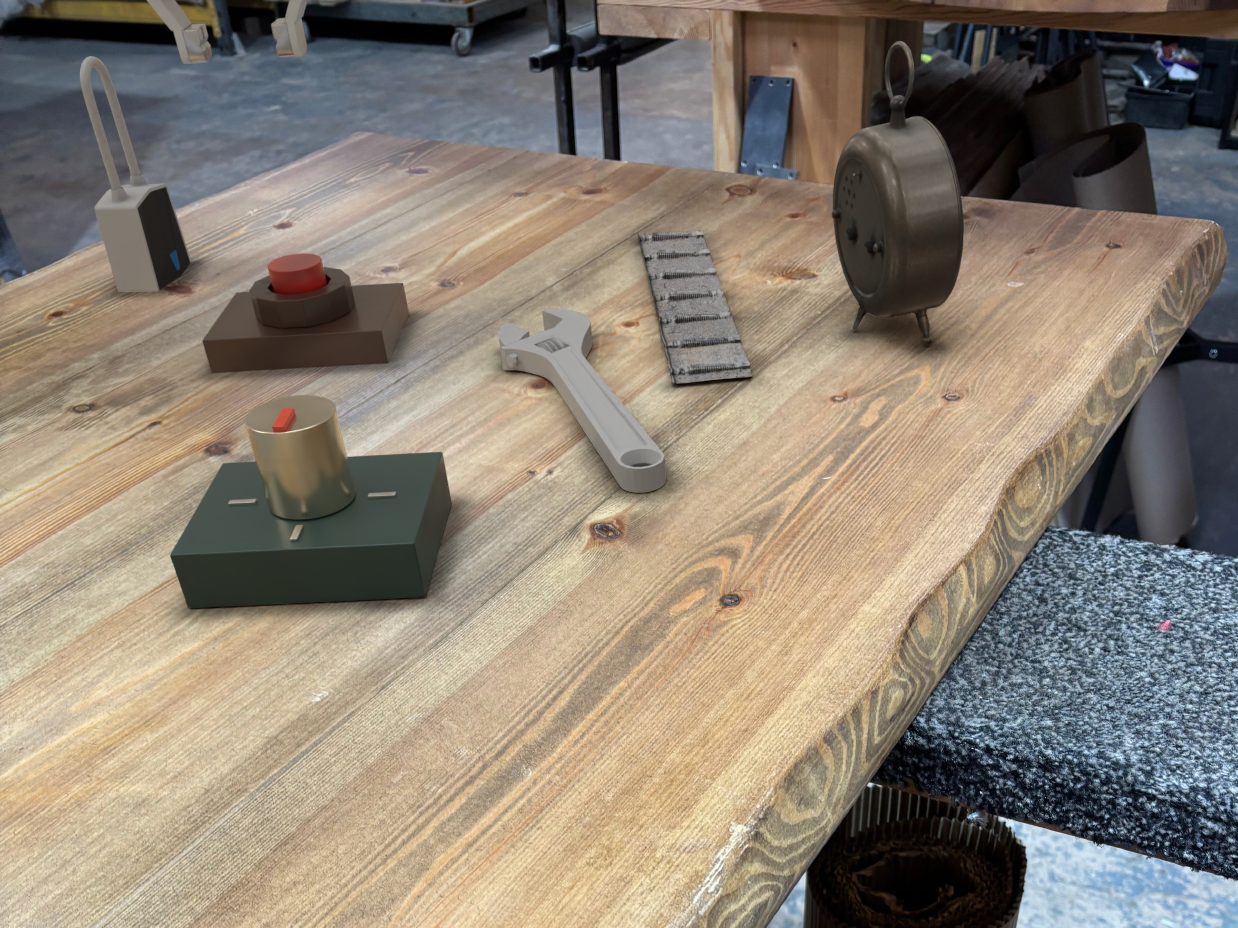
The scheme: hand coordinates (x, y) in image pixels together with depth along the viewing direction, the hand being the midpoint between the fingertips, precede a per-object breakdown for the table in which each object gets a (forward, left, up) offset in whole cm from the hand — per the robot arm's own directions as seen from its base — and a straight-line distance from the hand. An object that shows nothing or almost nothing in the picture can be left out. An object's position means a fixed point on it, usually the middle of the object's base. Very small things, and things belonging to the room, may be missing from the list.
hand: (245, 58), depth 80 cm
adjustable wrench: (+19, -13, -17) cm, 29 cm away
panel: (+7, -30, -17) cm, 35 cm away
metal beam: (+26, +4, -17) cm, 31 cm away
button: (0, 0, -13) cm, 13 cm away
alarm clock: (+39, -3, -17) cm, 43 cm away
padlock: (-16, +16, -17) cm, 28 cm away
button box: (0, 0, -17) cm, 17 cm away
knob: (+7, -30, -14) cm, 34 cm away
